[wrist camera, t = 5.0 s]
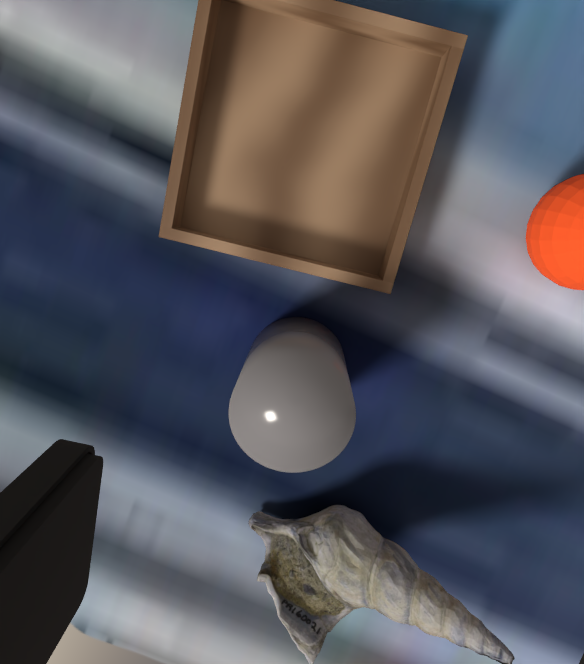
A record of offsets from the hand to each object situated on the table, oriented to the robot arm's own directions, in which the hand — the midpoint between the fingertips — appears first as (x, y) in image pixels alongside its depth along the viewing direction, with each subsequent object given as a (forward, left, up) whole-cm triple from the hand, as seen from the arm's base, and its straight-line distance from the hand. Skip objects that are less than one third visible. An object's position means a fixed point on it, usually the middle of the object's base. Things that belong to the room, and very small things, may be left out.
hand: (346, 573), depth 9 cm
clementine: (-15, -8, -27) cm, 32 cm away
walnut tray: (+3, -9, -27) cm, 28 cm away
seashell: (-7, +19, -27) cm, 34 cm away
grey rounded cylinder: (0, +5, -27) cm, 27 cm away
